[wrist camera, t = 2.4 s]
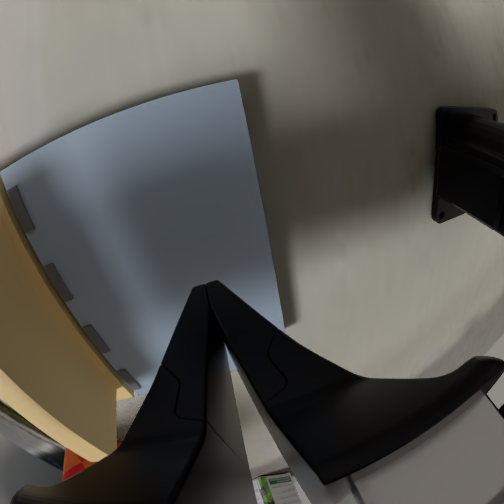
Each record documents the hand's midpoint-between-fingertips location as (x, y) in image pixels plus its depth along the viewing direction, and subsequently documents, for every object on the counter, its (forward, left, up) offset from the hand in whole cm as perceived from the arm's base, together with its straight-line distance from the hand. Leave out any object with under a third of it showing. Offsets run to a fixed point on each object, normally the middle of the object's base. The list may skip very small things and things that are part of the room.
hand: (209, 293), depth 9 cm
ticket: (+2, 0, -3) cm, 3 cm away
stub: (+9, 0, -3) cm, 9 cm away
